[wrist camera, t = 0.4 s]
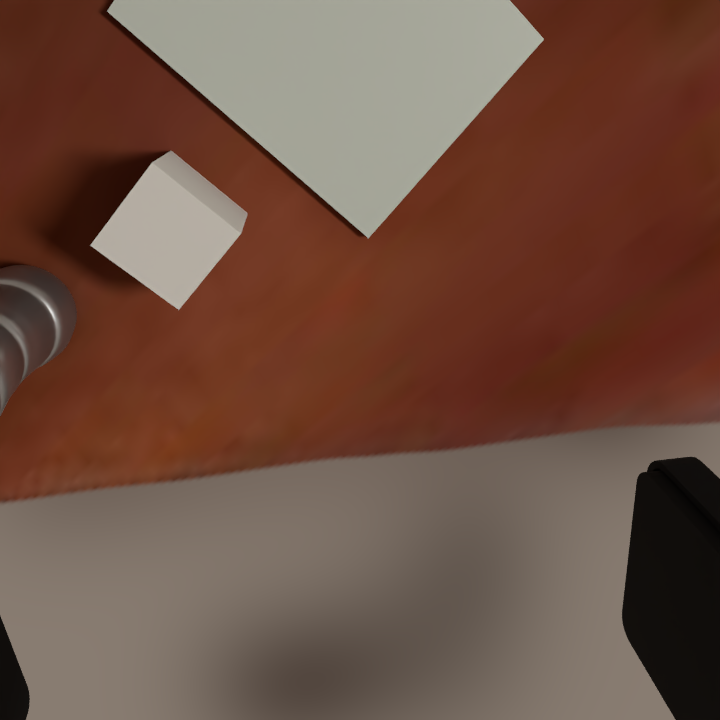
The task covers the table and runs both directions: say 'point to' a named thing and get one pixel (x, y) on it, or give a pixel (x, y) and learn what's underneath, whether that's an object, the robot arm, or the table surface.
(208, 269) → the lettered cube
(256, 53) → the sage mat
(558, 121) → the table surface
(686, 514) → the robot arm
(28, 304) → the metal bottle
